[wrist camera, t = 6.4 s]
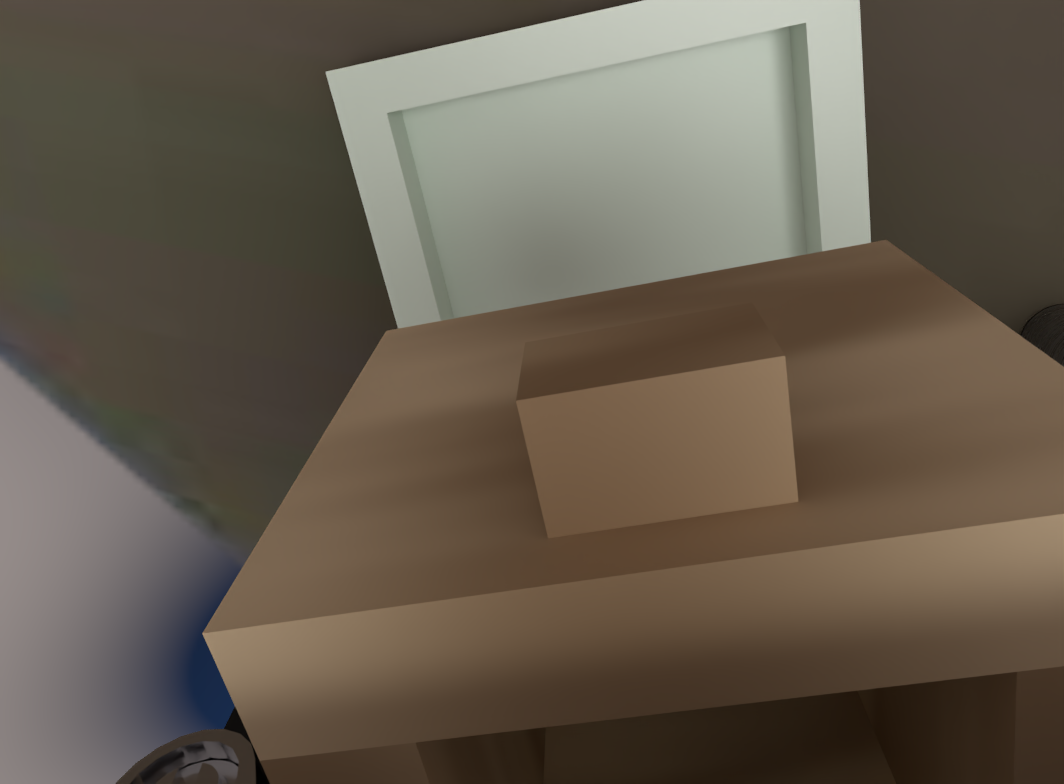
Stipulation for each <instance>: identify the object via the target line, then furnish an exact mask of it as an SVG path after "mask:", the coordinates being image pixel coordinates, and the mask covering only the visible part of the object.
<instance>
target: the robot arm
mask: <svg viewBox="0 0 1064 784" xmlns="http://www.w3.org/2000/svg"><path fill="white" fill-rule="evenodd" d="M116 784H270V783H269V780H268V778H267V776H266V774H265V771H264V769H263V767H262V765H261V763H260V760H259V758H258V756H257V754H256V751H255V749H254V747H253V745H252V743H251V740H250V738H249V736H248V734H247V731H246V729H245V727H244V725H243V723H242V720H241V718H240V716H239V714H238V711H237V709H236V707H235V708H234V710H233V712H232V714H231V716H230V718H229V720H228V722H227V724H226V726H225V728H224V729H214V730H202V731H199V732H195V733H191V734H188V735H184V736H181V737H179V738H177V739H175V740H173V741H171V742H169V743H167V744H165V745H163V746H160V747H159V748H157V749H155V750H154V751H153V752H151V753H150V754H148V755H147V756H146V757H144V758H143V759H141V760H140V761H138V762H137V763H136V764H135V765H134V766H133V767H132V768H131V769H130V770H129V771H128V772H127V773H125V775H124V776H122V777H121V778H120V779H119V780H118V782H117V783H116Z"/></svg>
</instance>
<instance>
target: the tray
mask: <svg viewBox="0 0 1064 784" xmlns="http://www.w3.org/2000/svg"><path fill="white" fill-rule="evenodd" d="M326 76H327V79H328V83H329V86H330V90H331V93H332V97H333V100H334V104H335V108H336V111H337V115H338V118H339V122H340V125H341V129H342V132H343V136H344V139H345V143H346V146H347V150H348V154H349V157H350V161H351V164H352V168H353V171H354V175H355V178H356V182H357V185H358V189H359V192H360V196H361V199H362V203H363V207H364V210H365V214H366V217H367V221H368V224H369V228H370V231H371V235H372V238H373V242H374V245H375V249H376V252H377V256H378V260H379V263H380V267H381V270H382V274H383V277H384V281H385V284H386V288H387V291H388V295H389V298H390V302H391V305H392V309H393V313H394V316H395V320H396V323H397V327H398V329H399V328H404V327H410V326H415V325H421V324H426V323H432V322H437V321H443V320H448V319H454V318H459V317H465V316H470V315H476V314H481V313H487V312H492V311H498V310H503V309H509V308H514V307H520V306H525V305H531V304H536V303H542V302H547V301H553V300H558V299H564V298H569V297H575V296H580V295H586V294H591V293H597V292H602V291H608V290H613V289H619V288H624V287H630V286H635V285H641V284H646V283H652V282H657V281H663V280H668V279H674V278H679V277H685V276H690V275H696V274H701V273H707V272H712V271H718V270H723V269H729V268H734V267H740V266H745V265H751V264H756V263H762V262H767V261H773V260H778V259H783V258H789V257H794V256H800V255H805V254H811V253H816V252H822V251H827V250H833V249H838V248H844V247H849V246H855V245H860V244H866V243H871V233H870V211H869V190H868V169H867V148H866V126H865V105H864V84H863V62H862V41H861V20H860V0H643V1H639V2H634V3H630V4H625V5H621V6H617V7H612V8H608V9H603V10H599V11H594V12H590V13H585V14H581V15H576V16H572V17H568V18H563V19H559V20H554V21H550V22H545V23H541V24H536V25H532V26H528V27H523V28H519V29H514V30H510V31H505V32H501V33H496V34H492V35H487V36H483V37H479V38H474V39H470V40H465V41H461V42H456V43H452V44H447V45H443V46H438V47H434V48H430V49H425V50H421V51H416V52H412V53H407V54H403V55H398V56H394V57H390V58H385V59H381V60H376V61H372V62H367V63H363V64H358V65H354V66H349V67H345V68H341V69H336V70H332V71H327V72H326Z"/></svg>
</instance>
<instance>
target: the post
mask: <svg viewBox="0 0 1064 784" xmlns="http://www.w3.org/2000/svg"><path fill="white" fill-rule="evenodd" d="M1021 337H1023V338H1024V339H1026V340H1027V341H1028V342H1030V343H1031V344H1033V345H1034V346H1035V347H1037V348H1038V349H1040V350H1041V351H1042V352H1044V353H1045V354H1047V355H1048V356H1049V357H1051V358H1052V359H1054V360H1055V361H1056V362H1058V363H1059V364H1061V365H1062V366H1063V367H1064V305H1056V306H1052V307H1049V308H1046V309H1044V310H1042V311H1041V312H1039V313H1038V314H1036V315H1035V316H1034V317H1033V318H1032V319H1031V320H1030V321H1029V322H1028V323H1027V325H1026V326H1025V328H1024V330H1023V332H1022V335H1021Z"/></svg>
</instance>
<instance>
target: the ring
mask: <svg viewBox="0 0 1064 784" xmlns="http://www.w3.org/2000/svg"><path fill="white" fill-rule="evenodd" d="M203 636H204V638H205V640H206V643H207V645H208V647H209V649H210V651H211V654H212V656H213V658H214V660H215V663H216V665H217V667H218V669H219V671H220V674H221V676H222V678H223V680H224V683H225V685H226V687H227V689H228V691H229V694H230V696H231V698H232V700H233V702H234V705H235V707H236V709H237V711H238V714H239V716H240V718H241V720H242V723H243V725H244V727H245V729H246V731H247V734H248V736H249V738H250V740H251V743H252V745H253V747H254V749H255V751H256V754H257V756H258V758H259V760H260V763H261V765H262V767H263V769H264V771H265V774H266V776H267V778H268V780H269V783H270V784H1064V367H1063V366H1062V365H1061V364H1059V363H1058V362H1056V361H1055V360H1054V359H1052V358H1051V357H1049V356H1048V355H1047V354H1045V353H1044V352H1042V351H1041V350H1040V349H1038V348H1037V347H1035V346H1034V345H1033V344H1031V343H1030V342H1028V341H1027V340H1026V339H1024V338H1023V337H1021V336H1020V335H1019V334H1017V333H1016V332H1014V331H1013V330H1012V329H1010V328H1009V327H1007V326H1006V325H1005V324H1003V323H1002V322H1001V321H999V320H998V319H996V318H995V317H994V316H992V315H991V314H989V313H988V312H987V311H985V310H984V309H982V308H981V307H980V306H978V305H977V304H975V303H974V302H973V301H971V300H970V299H968V298H967V297H966V296H964V295H963V294H961V293H960V292H959V291H957V290H956V289H954V288H953V287H952V286H950V285H949V284H947V283H946V282H945V281H943V280H942V279H940V278H939V277H938V276H936V275H935V274H933V273H932V272H931V271H929V270H928V269H926V268H925V267H924V266H922V265H921V264H919V263H918V262H917V261H915V260H914V259H912V258H911V257H910V256H908V255H907V254H905V253H904V252H903V251H901V250H900V249H898V248H897V247H896V246H894V245H893V244H891V243H890V242H889V241H887V240H882V241H877V242H871V243H866V244H860V245H855V246H849V247H844V248H838V249H833V250H827V251H822V252H816V253H811V254H805V255H800V256H794V257H789V258H783V259H778V260H773V261H767V262H762V263H756V264H751V265H745V266H740V267H734V268H729V269H723V270H718V271H712V272H707V273H701V274H696V275H690V276H685V277H679V278H674V279H668V280H663V281H657V282H652V283H646V284H641V285H635V286H630V287H624V288H619V289H613V290H608V291H602V292H597V293H591V294H586V295H580V296H575V297H569V298H564V299H558V300H553V301H547V302H542V303H536V304H531V305H525V306H520V307H514V308H509V309H503V310H498V311H492V312H487V313H481V314H476V315H470V316H465V317H459V318H454V319H448V320H443V321H437V322H432V323H426V324H421V325H415V326H410V327H404V328H399V329H393V330H388V331H386V332H385V334H384V335H383V337H382V338H381V340H380V342H379V343H378V345H377V347H376V348H375V350H374V352H373V353H372V355H371V357H370V358H369V360H368V362H367V363H366V365H365V366H364V368H363V370H362V371H361V373H360V375H359V376H358V378H357V380H356V381H355V383H354V385H353V386H352V388H351V390H350V391H349V393H348V394H347V396H346V398H345V399H344V401H343V403H342V404H341V406H340V408H339V409H338V411H337V413H336V414H335V416H334V418H333V419H332V421H331V422H330V424H329V426H328V427H327V429H326V431H325V432H324V434H323V436H322V437H321V439H320V441H319V442H318V444H317V446H316V447H315V449H314V450H313V452H312V454H311V455H310V457H309V459H308V460H307V462H306V464H305V465H304V467H303V469H302V470H301V472H300V474H299V475H298V477H297V478H296V480H295V482H294V483H293V485H292V487H291V488H290V490H289V492H288V493H287V495H286V497H285V498H284V500H283V502H282V503H281V505H280V506H279V508H278V510H277V511H276V513H275V515H274V516H273V518H272V520H271V521H270V523H269V525H268V526H267V528H266V530H265V531H264V533H263V534H262V536H261V538H260V539H259V541H258V543H257V544H256V546H255V548H254V549H253V551H252V553H251V554H250V556H249V558H248V559H247V561H246V562H245V564H244V566H243V567H242V569H241V571H240V572H239V574H238V576H237V578H236V579H235V581H234V582H233V584H232V586H231V587H230V589H229V591H228V592H227V594H226V595H225V597H224V599H223V600H222V602H221V604H220V605H219V607H218V609H217V610H216V612H215V614H214V615H213V617H212V618H211V620H210V622H209V623H208V625H207V627H206V628H205V630H204V632H203Z"/></svg>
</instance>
